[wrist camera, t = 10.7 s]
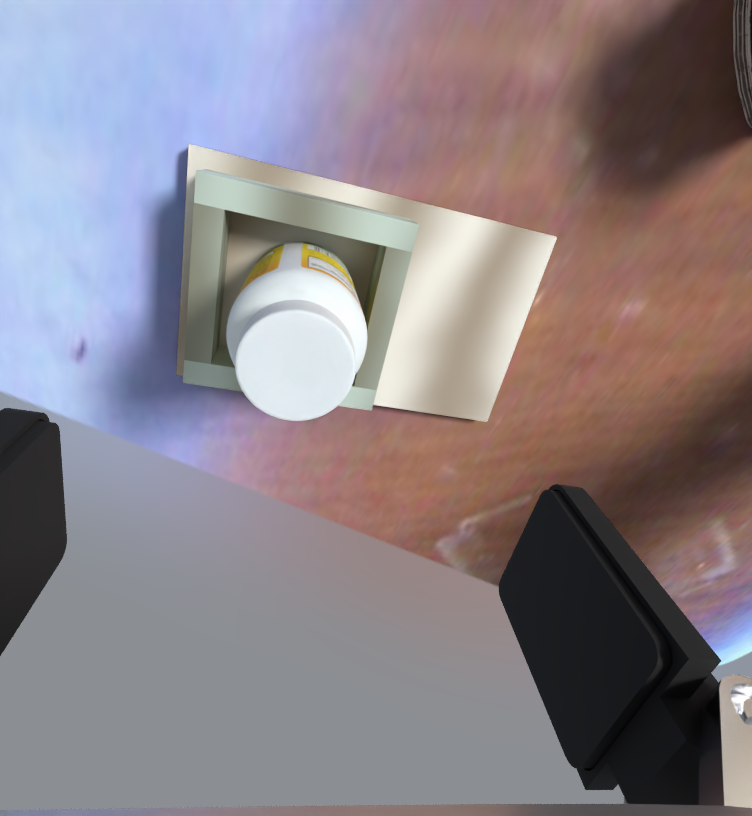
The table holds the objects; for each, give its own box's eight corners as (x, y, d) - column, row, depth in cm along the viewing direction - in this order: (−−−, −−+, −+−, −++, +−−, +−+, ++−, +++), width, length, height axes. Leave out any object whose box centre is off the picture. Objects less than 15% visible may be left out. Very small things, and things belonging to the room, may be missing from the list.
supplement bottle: (350, 236, 23) (376, 282, 15) (356, 340, 26) (381, 430, 17) (236, 242, 23) (197, 294, 14) (254, 348, 25) (229, 446, 17)
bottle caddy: (550, 235, 25) (581, 244, 22) (482, 415, 30) (501, 442, 27) (192, 144, 21) (175, 142, 18) (179, 369, 26) (164, 395, 23)
